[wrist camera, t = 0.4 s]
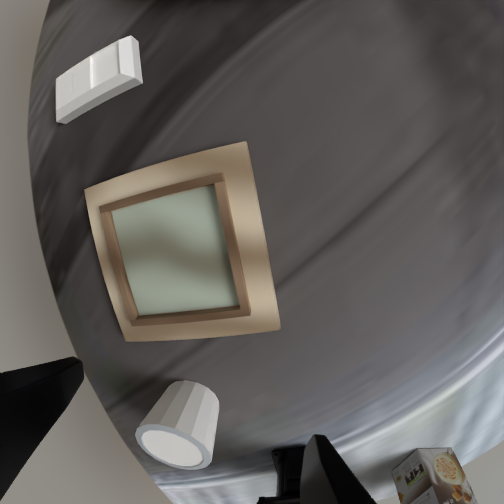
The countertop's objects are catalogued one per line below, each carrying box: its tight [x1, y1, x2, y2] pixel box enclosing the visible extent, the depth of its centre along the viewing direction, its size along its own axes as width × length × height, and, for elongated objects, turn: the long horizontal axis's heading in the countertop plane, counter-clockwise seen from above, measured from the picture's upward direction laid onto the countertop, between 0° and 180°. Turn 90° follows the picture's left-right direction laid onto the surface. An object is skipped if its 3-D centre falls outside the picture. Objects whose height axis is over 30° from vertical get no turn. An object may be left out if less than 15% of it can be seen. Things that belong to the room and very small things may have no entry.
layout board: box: [84, 141, 280, 342], centre depth 20 cm, size 14×14×2 cm
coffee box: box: [392, 448, 478, 504], centre depth 17 cm, size 9×6×16 cm
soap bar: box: [56, 36, 143, 124], centre depth 18 cm, size 5×9×3 cm, turn 103°
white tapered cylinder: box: [135, 380, 219, 470], centre depth 21 cm, size 7×7×7 cm
